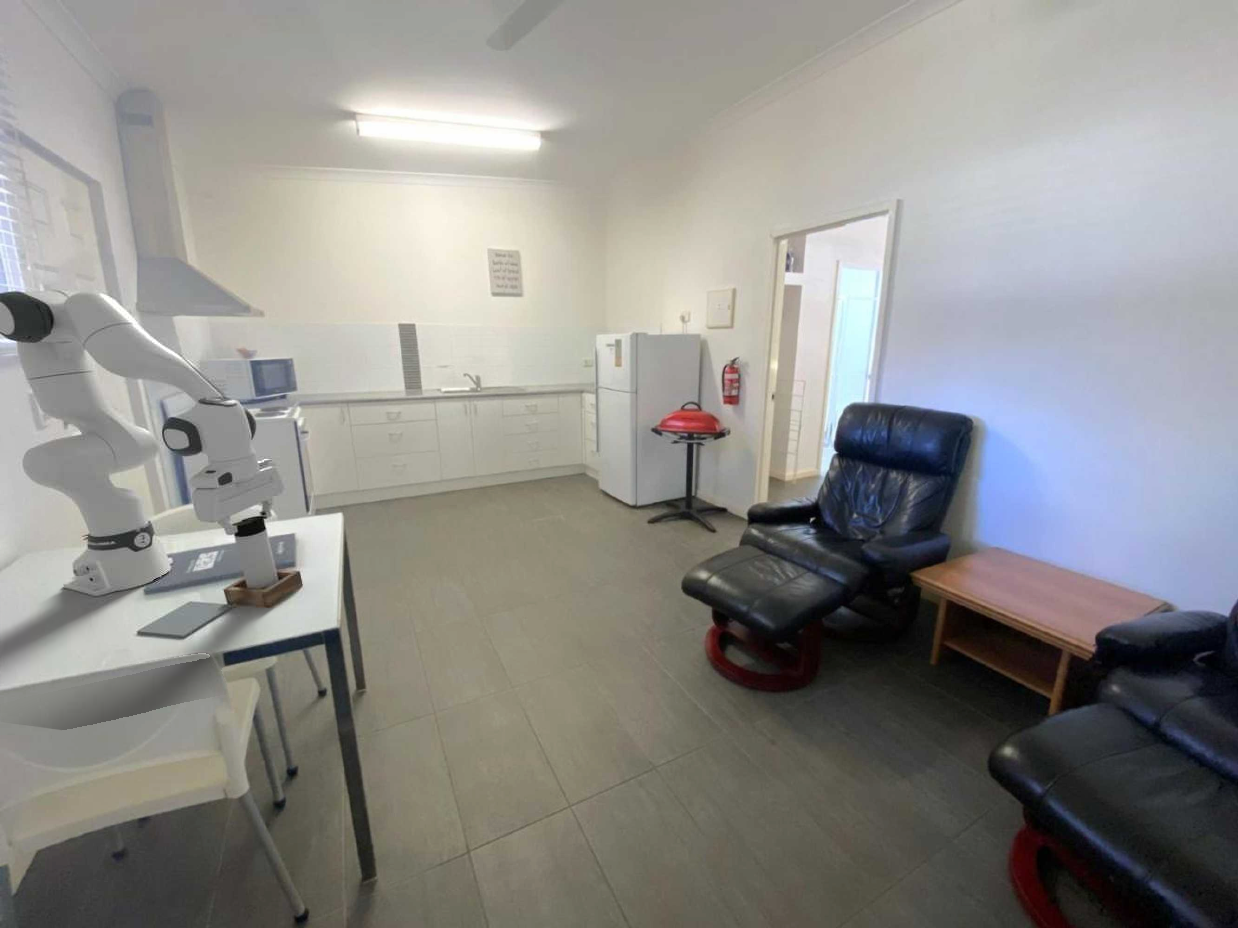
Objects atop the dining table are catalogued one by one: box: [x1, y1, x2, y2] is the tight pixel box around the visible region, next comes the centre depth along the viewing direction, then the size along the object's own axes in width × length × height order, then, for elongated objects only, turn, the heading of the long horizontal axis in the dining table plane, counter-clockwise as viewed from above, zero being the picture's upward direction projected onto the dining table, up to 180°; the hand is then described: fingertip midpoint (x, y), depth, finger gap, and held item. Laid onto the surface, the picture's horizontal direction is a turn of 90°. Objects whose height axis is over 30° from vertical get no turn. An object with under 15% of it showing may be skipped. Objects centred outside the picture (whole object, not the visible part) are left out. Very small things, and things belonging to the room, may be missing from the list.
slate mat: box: [136, 600, 235, 639], centre depth 115 cm, size 12×12×1 cm
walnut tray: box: [222, 568, 303, 609], centre depth 124 cm, size 11×10×4 cm
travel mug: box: [231, 515, 278, 590], centre depth 122 cm, size 6×7×20 cm
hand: (250, 525), depth 120 cm, fingers open, 8 cm apart
